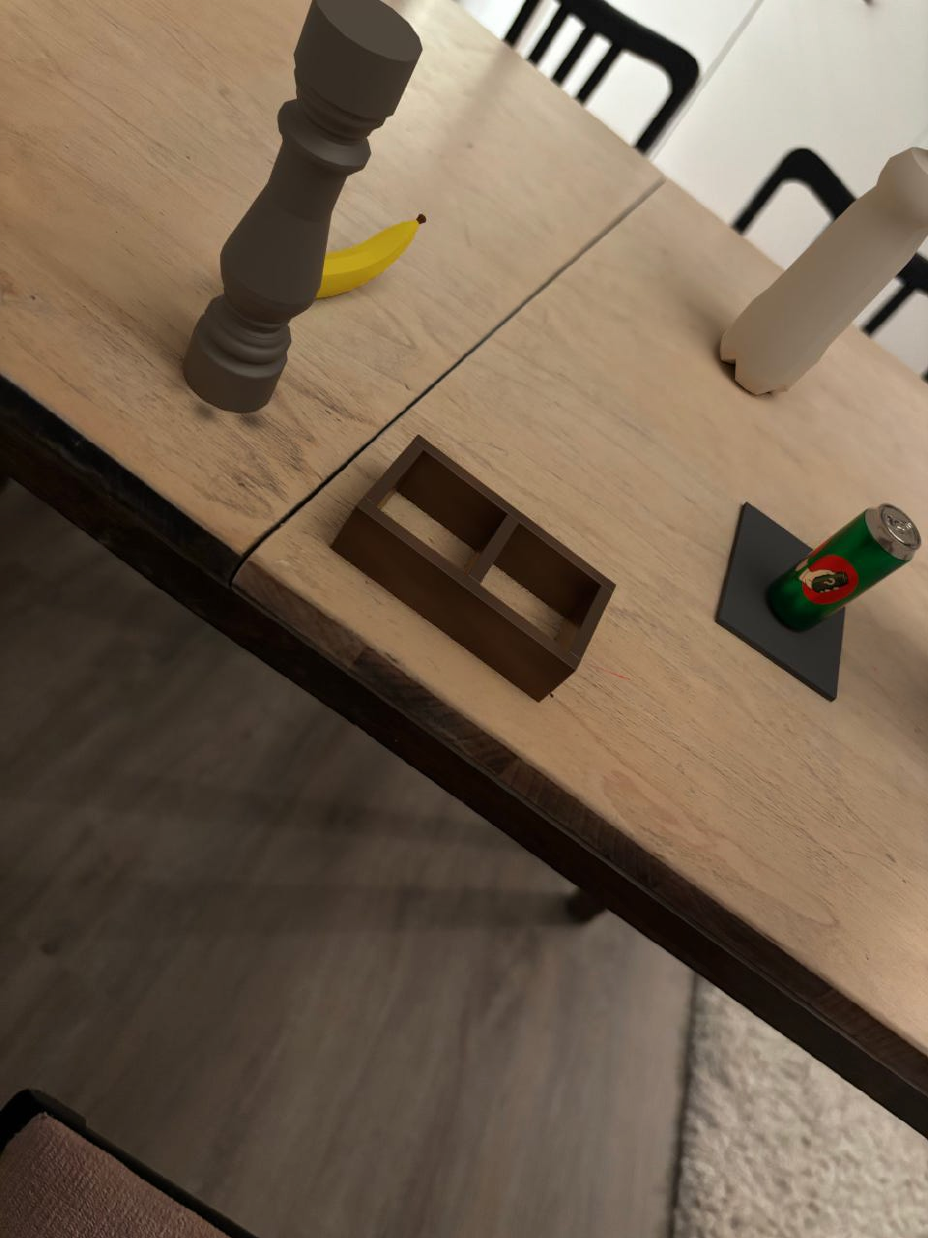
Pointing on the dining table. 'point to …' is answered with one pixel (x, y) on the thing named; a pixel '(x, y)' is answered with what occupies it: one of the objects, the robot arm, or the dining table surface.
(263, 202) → the candle holder
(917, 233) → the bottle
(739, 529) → the table mat
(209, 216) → the dining table surface
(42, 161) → the dining table surface
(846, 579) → the soda can
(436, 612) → the can rack
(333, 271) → the banana
